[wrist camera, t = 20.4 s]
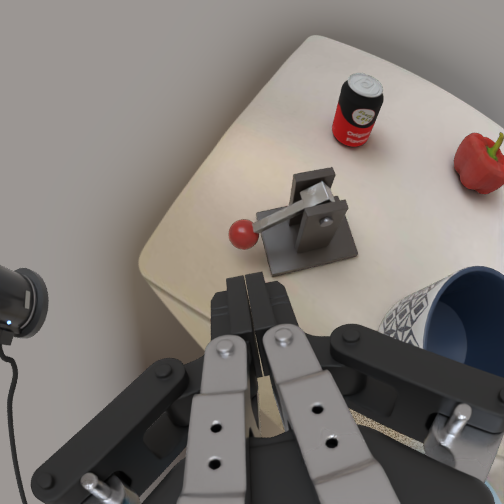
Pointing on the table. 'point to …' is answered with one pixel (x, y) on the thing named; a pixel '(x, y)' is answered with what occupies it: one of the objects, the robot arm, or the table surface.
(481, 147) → the vegetable
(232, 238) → the tap lever
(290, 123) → the table surface
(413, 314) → the planter
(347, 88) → the beverage can
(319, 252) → the grey lever stand
